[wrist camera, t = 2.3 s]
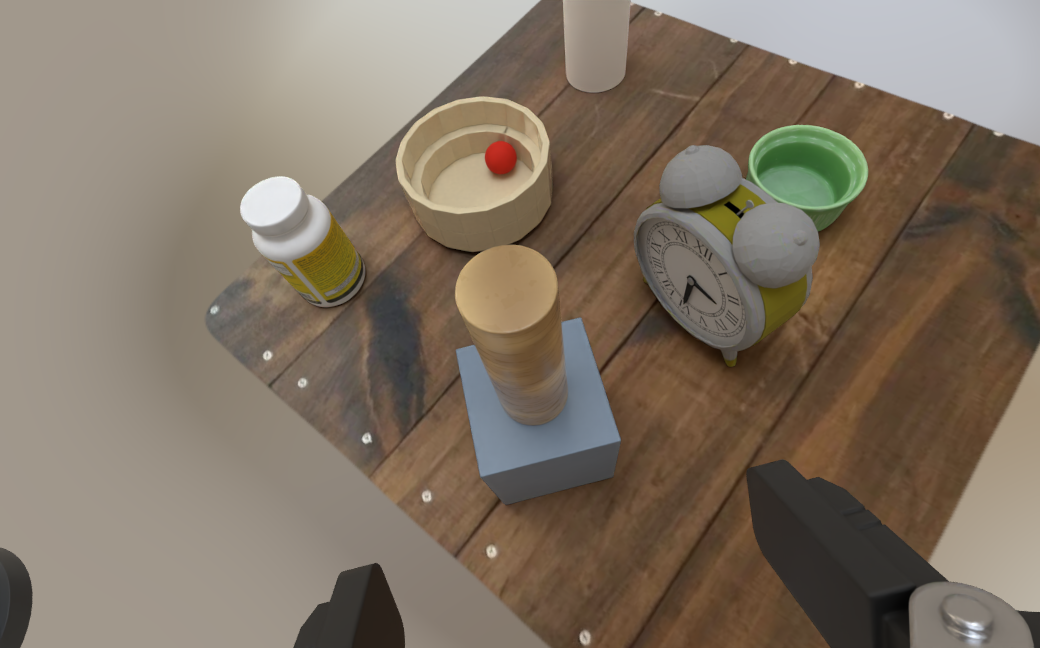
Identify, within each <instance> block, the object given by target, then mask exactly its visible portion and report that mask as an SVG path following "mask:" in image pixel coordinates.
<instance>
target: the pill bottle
mask: <svg viewBox="0 0 1040 648" xmlns="http://www.w3.org/2000/svg"><path fill="white" fill-rule="evenodd" d="M240 212H241V216H242V218H243V219H244V221H245V222H246V223H247V224H248V225H249V227H250V228H251V229H252V237H253V241H254V244H255V246H256V248H257V249H258V251H259V252H260V253H261V254H262V255H263V256H264V257H265V258H266V259H267V260H268V261H269V262H270V263H271V265H272V266H273V267H274V268H275V269H276V270H277V271H278V272H279V273H280V274H281V275H282V276H283V277H284V278H285V279H286V280H287V281H288V282H289V283H290V284H291V285H292V286H293V288H294V289H295V290H296V291H297V292H298V293H299V294H300V295H301V296H302V297H303V298H304V299H305V300H307V301H308V302H309V303H311V304H313V305H316V306H320V307H332V306H336V305H339V304H342V303H344V302H346V301H348V300H349V299H351V298H352V297H353V296H354V295H355V294H356V293H357V292H358V290H359V289H360V287H361V286H362V284H363V281H364V278H365V265H364V262H363V260H362V258H361V257H360V255H359V253H358V252H357V251H356V249H355V248H354V246H353V245H352V243H351V242H350V240H349V239H348V237H347V236H346V235H345V233H344V232H343V230H342V229H341V227H340V226H339V224H338V223H337V221H336V220H335V218H334V217H333V216H332V214H331V213H330V211H329V210H328V208H327V207H326V206H325V205H324V203H322V202H321V201H320V200H319V199H317V198H316V197H314V196H311V195H308V194H306V193H305V192H304V190H303V189H302V188H301V186H300V185H299V184H298V183H297V182H296V181H295V180H293V179H291V178H288V177H273V178H269V179H265V180H263V181H261V182H259V183H258V184H256V185H254V186H253V187H252V188H251V189H250V190H249V191H248V192H247V193H246V195H245V196H244V198H243V199H242V202H241V206H240Z"/></svg>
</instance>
